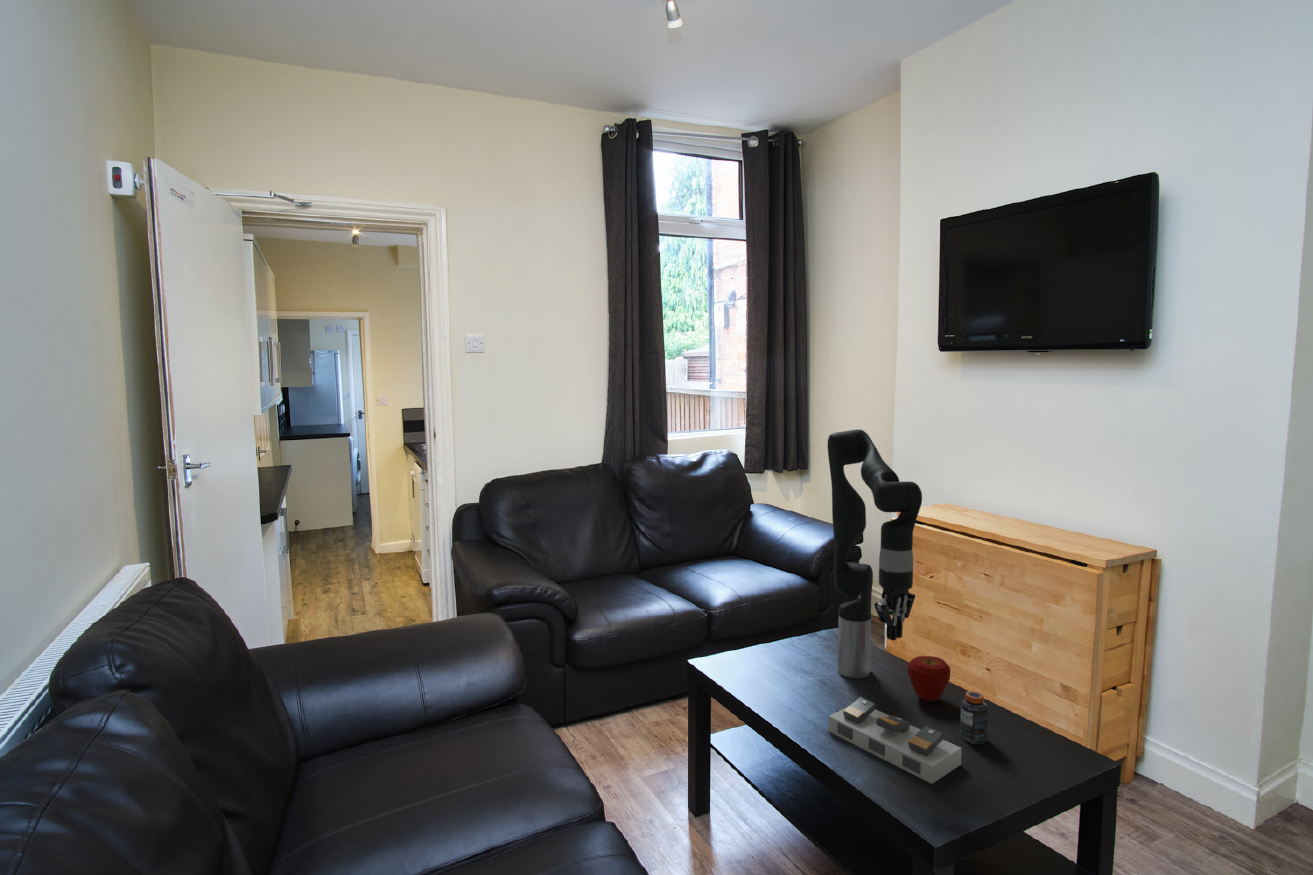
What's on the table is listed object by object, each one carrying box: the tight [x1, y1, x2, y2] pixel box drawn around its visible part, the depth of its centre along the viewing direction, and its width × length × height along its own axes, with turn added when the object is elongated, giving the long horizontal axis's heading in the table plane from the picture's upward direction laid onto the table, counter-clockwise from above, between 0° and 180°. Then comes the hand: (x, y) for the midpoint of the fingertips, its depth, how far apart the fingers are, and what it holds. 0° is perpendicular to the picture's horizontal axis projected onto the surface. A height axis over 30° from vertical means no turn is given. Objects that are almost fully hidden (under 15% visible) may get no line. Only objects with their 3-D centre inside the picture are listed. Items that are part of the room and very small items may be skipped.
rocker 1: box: [843, 696, 877, 724], centre depth 170 cm, size 7×4×2 cm, turn 127°
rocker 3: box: [908, 725, 944, 756], centre depth 156 cm, size 7×4×2 cm, turn 127°
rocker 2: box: [876, 715, 911, 732], centre depth 163 cm, size 7×4×2 cm, turn 127°
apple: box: [907, 655, 951, 703], centre depth 187 cm, size 11×11×12 cm
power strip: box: [828, 707, 962, 785], centre depth 164 cm, size 12×30×4 cm, turn 37°
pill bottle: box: [959, 690, 989, 745], centre depth 166 cm, size 6×6×11 cm
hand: (894, 637), depth 161 cm, fingers closed
